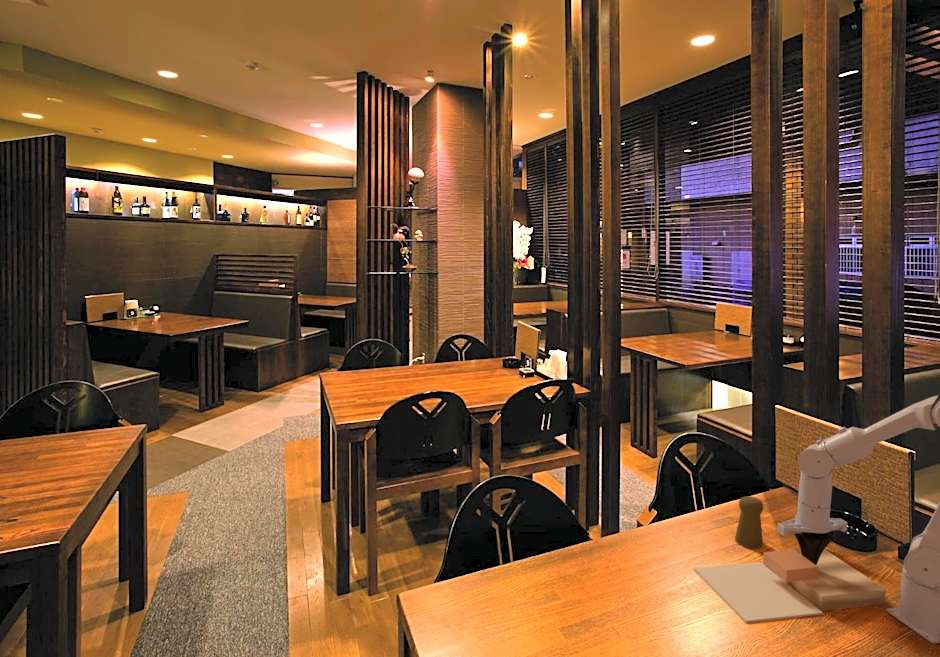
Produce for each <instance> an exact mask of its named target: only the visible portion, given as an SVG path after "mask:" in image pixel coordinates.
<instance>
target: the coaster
mask: <svg viewBox="0 0 940 657" xmlns="http://www.w3.org/2000/svg"><path fill="white" fill-rule="evenodd" d="M762 564H763V565H766V566H767V567H768V568H769V569H771V570H772V571H773V572H774V573H776V574H777V575H778V576H779V578H780V577H781V578H782V579H783V580H784V582H791V581H800V580H808V579H817V578H818V566H816V565H815V564H814V563H812V562H811V561H809V560H808V559H807V558H805V557H804V556H802V555H801V554H800V553H798V552H797V551H796V549H793V548H791V549H785V550H774V551H773V550H772V551H763V560H762Z"/></svg>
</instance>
